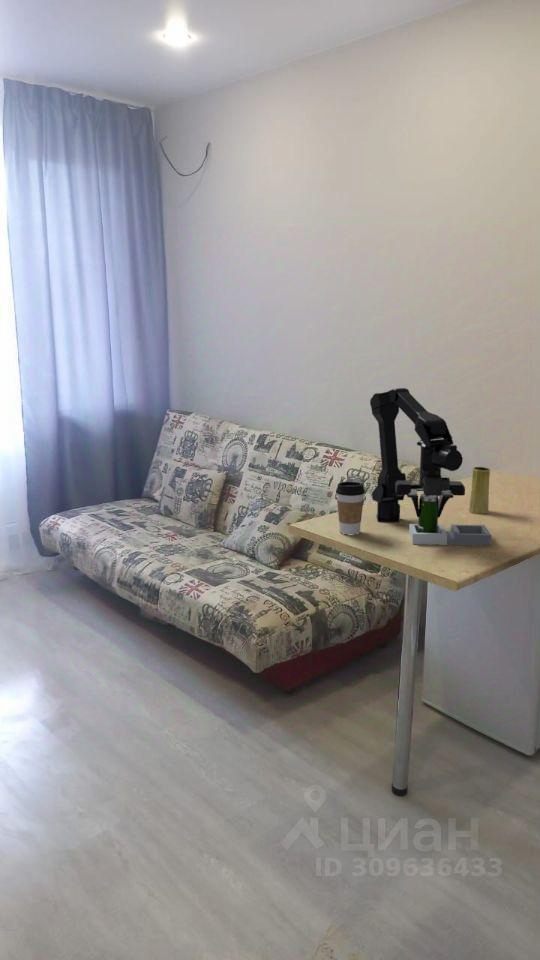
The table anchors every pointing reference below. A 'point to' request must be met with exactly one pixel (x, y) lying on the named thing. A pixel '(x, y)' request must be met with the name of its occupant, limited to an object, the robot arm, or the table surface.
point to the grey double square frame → (452, 535)
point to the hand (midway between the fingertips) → (428, 517)
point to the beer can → (428, 514)
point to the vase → (480, 490)
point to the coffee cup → (350, 506)
